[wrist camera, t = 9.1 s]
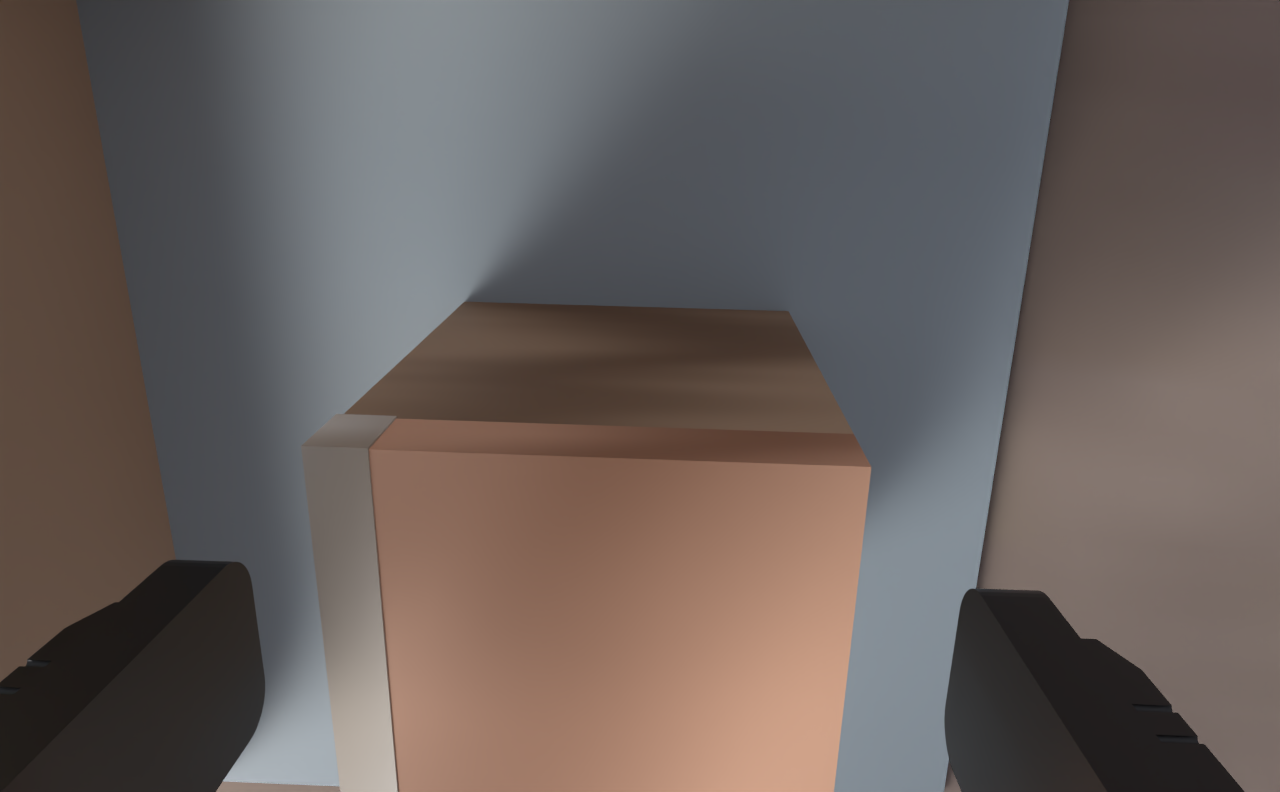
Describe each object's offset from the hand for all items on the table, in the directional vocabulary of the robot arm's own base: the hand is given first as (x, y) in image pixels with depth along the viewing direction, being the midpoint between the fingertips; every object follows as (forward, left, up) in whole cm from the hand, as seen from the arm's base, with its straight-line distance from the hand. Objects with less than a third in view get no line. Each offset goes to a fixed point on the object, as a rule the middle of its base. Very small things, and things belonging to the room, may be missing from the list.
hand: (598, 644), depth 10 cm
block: (0, 0, -5) cm, 5 cm away
